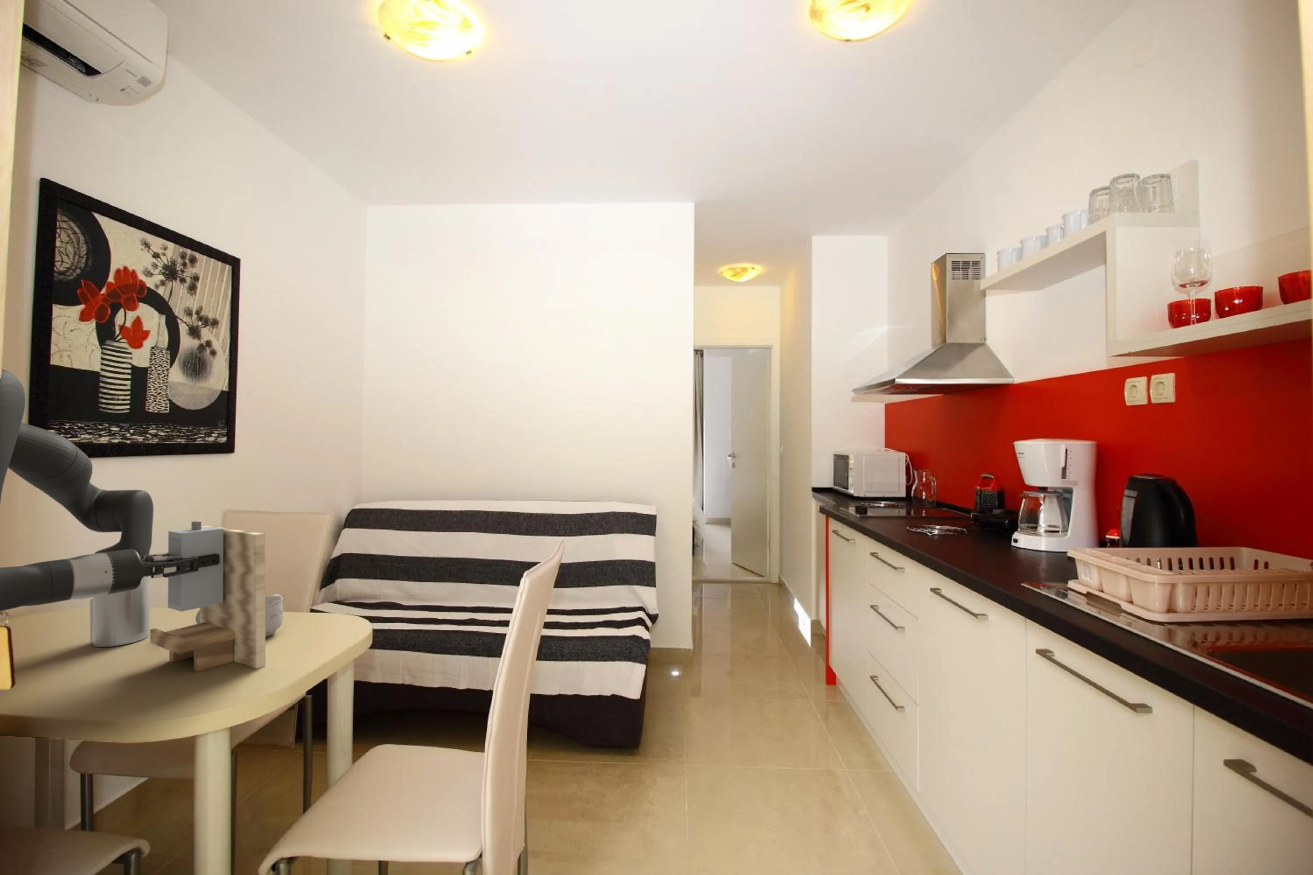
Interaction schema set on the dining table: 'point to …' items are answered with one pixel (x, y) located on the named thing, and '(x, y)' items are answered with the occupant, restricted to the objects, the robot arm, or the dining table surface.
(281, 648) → the dining table surface
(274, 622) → the teacup
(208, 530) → the bottle
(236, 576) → the wooden display stand
